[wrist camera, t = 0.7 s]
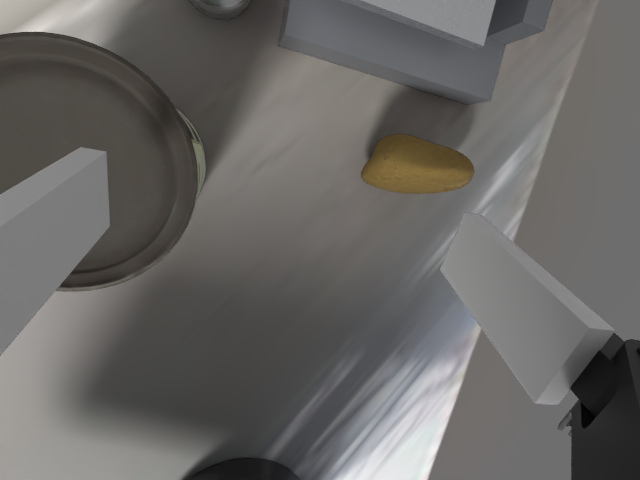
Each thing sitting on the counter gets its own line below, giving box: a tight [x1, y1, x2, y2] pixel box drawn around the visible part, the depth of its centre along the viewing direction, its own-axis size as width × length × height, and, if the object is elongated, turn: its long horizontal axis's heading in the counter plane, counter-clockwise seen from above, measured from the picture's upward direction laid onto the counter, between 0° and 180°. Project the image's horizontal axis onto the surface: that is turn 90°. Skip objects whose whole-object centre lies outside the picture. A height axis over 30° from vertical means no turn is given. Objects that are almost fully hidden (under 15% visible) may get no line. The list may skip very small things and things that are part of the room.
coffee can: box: [0, 32, 206, 292], centre depth 21 cm, size 10×10×14 cm
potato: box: [361, 134, 474, 194], centre depth 30 cm, size 7×8×8 cm
